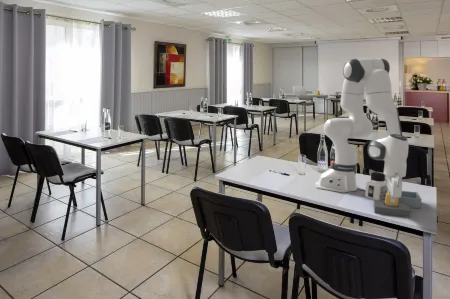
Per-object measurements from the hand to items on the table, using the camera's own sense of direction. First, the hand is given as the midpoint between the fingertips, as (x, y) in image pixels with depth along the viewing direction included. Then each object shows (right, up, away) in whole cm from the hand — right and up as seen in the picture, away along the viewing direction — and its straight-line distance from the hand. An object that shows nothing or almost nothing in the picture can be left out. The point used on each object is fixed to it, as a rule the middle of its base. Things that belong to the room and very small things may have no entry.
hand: (391, 200), depth 153 cm
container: (+2, -2, +19) cm, 19 cm away
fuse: (0, -5, +1) cm, 5 cm away
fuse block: (0, -5, +1) cm, 5 cm away
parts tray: (+12, -3, +11) cm, 17 cm away
